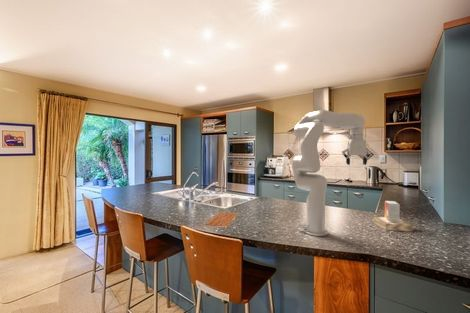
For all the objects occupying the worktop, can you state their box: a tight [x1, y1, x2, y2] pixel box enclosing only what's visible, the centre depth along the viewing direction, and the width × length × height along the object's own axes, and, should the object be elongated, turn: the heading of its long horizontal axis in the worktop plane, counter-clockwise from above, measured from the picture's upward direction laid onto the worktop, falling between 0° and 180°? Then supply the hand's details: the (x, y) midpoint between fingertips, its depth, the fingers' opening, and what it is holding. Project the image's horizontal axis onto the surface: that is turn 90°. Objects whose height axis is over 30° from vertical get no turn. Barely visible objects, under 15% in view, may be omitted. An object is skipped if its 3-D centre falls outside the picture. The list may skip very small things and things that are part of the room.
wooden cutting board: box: [204, 211, 239, 228], centre depth 146 cm, size 14×30×1 cm, turn 166°
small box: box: [384, 200, 401, 222], centre depth 131 cm, size 8×6×10 cm
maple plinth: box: [373, 216, 414, 232], centre depth 130 cm, size 14×14×4 cm
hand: (356, 164), depth 141 cm, fingers open, 9 cm apart
